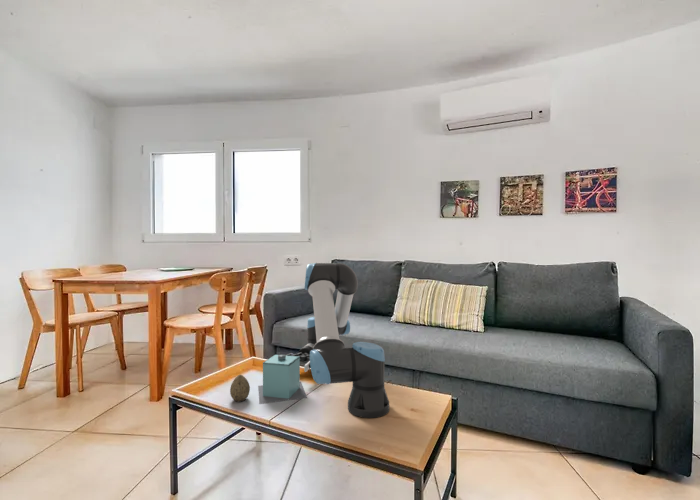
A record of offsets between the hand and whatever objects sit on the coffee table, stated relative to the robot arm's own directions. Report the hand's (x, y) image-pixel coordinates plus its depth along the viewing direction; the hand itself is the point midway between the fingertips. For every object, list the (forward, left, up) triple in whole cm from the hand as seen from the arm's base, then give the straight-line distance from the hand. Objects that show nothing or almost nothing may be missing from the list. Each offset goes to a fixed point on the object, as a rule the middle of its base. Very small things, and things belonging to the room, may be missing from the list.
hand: (290, 367), depth 146 cm
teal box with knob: (-8, +4, -7) cm, 11 cm away
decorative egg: (-11, +20, -8) cm, 24 cm away
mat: (-8, +4, -7) cm, 12 cm away
